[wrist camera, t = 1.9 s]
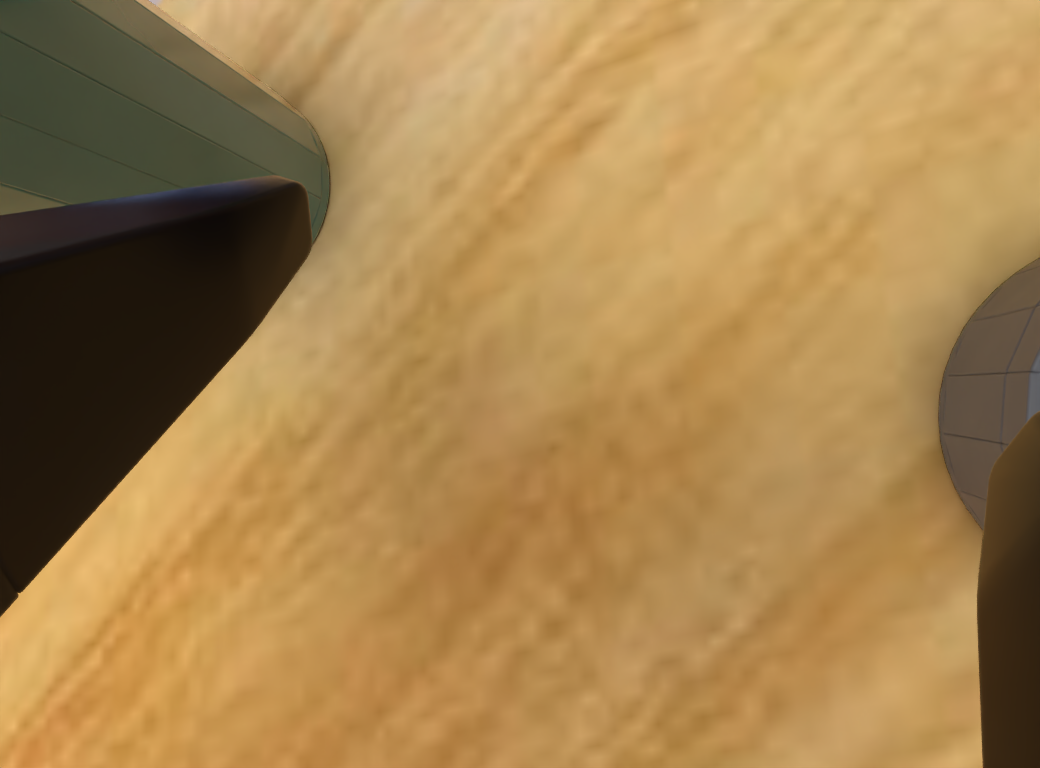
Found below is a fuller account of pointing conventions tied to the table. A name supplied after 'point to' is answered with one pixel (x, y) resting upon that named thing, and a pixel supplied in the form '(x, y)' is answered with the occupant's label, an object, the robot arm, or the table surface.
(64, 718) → the table surface
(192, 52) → the green cup
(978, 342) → the grey pot
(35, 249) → the robot arm
